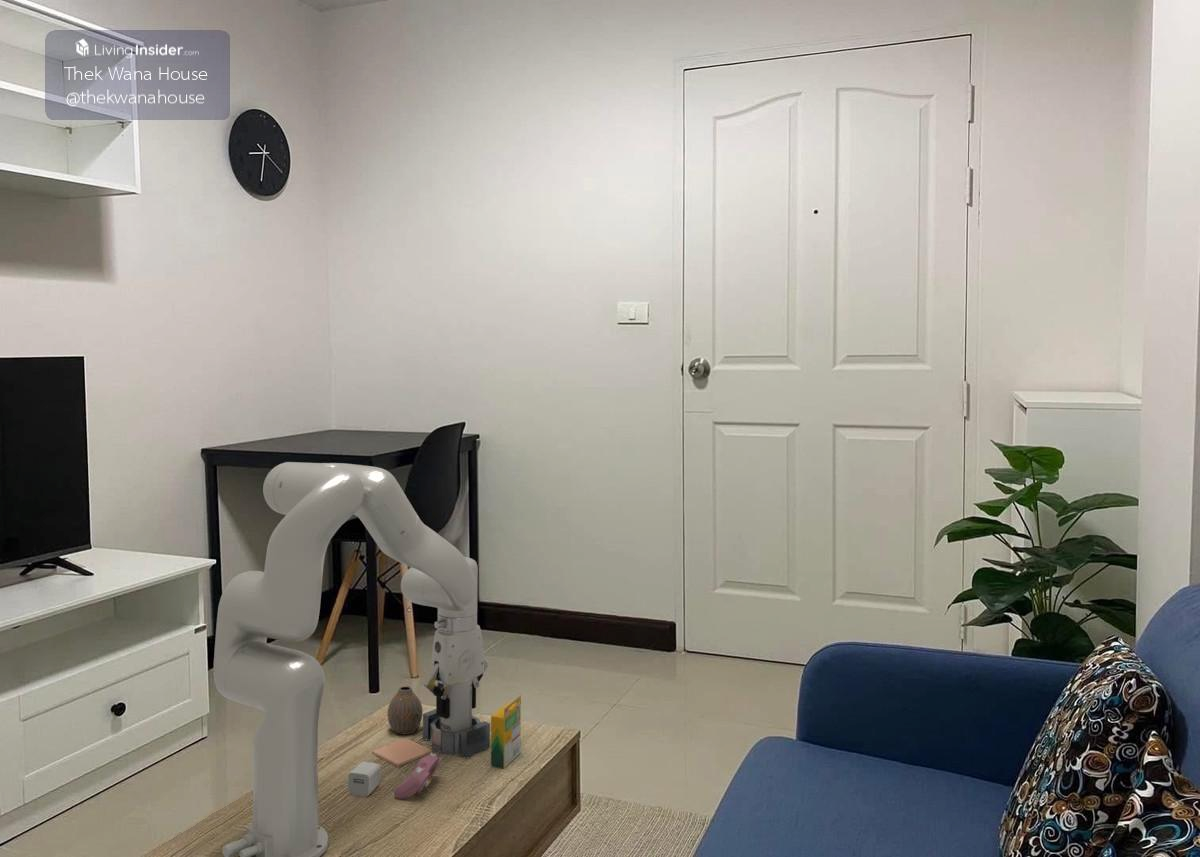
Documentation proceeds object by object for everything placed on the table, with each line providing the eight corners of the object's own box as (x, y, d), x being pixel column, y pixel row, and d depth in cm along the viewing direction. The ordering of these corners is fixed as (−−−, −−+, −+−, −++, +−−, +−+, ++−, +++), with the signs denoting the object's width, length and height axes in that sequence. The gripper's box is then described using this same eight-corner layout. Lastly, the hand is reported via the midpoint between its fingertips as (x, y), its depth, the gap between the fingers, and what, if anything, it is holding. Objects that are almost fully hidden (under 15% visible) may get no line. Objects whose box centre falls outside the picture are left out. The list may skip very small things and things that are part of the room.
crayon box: (506, 750, 184) (507, 692, 183) (521, 753, 183) (522, 694, 182) (489, 766, 177) (490, 706, 176) (504, 769, 176) (505, 708, 175)
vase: (386, 724, 194) (386, 683, 193) (420, 721, 196) (420, 680, 195) (389, 739, 188) (389, 696, 187) (424, 735, 190) (424, 692, 189)
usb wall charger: (348, 793, 165) (348, 771, 165) (366, 776, 172) (366, 754, 172) (369, 797, 165) (369, 774, 164) (386, 778, 171) (386, 757, 171)
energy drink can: (437, 739, 188) (437, 665, 187) (466, 734, 190) (467, 662, 189) (444, 751, 183) (445, 676, 181) (474, 747, 185) (476, 672, 183)
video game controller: (412, 811, 163) (430, 778, 162) (390, 796, 164) (407, 763, 163) (433, 784, 173) (450, 753, 172) (412, 771, 174) (429, 739, 172)
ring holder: (496, 745, 186) (496, 720, 186) (458, 761, 179) (459, 735, 178) (453, 726, 194) (453, 702, 194) (415, 740, 187) (415, 716, 186)
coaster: (397, 766, 176) (397, 764, 176) (371, 753, 181) (371, 750, 181) (431, 752, 182) (431, 750, 182) (405, 740, 187) (405, 738, 187)
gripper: (435, 636, 175) (434, 730, 177) (503, 616, 188) (501, 704, 190) (409, 627, 180) (408, 719, 182) (477, 608, 193) (476, 694, 195)
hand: (456, 710), depth 186 cm, fingers closed on energy drink can, 6 cm apart
